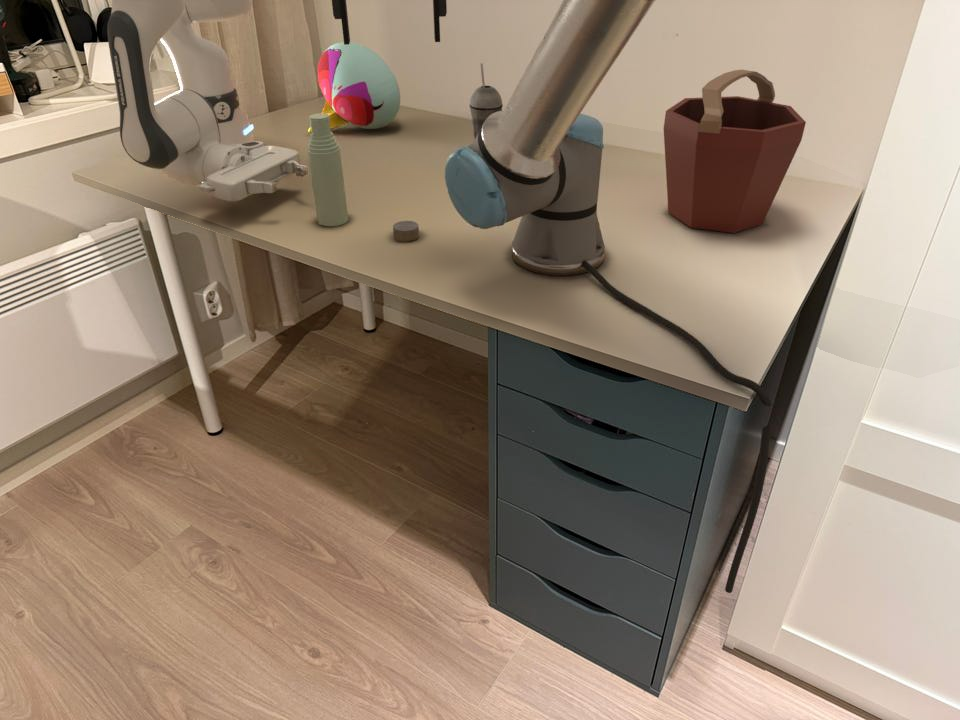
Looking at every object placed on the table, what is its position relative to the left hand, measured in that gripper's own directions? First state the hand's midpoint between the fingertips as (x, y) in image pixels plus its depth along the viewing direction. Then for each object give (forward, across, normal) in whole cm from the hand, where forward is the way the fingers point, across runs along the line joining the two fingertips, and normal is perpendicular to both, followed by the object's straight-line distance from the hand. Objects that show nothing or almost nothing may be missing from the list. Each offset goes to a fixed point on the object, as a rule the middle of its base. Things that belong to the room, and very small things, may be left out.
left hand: (290, 179), depth 131 cm
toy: (-20, +52, +6) cm, 56 cm away
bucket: (+73, +31, +6) cm, 79 cm away
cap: (+25, -1, +5) cm, 25 cm away
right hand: (+25, -1, -25) cm, 36 cm away
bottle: (+9, 0, +6) cm, 11 cm away
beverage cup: (+20, +43, +6) cm, 48 cm away
